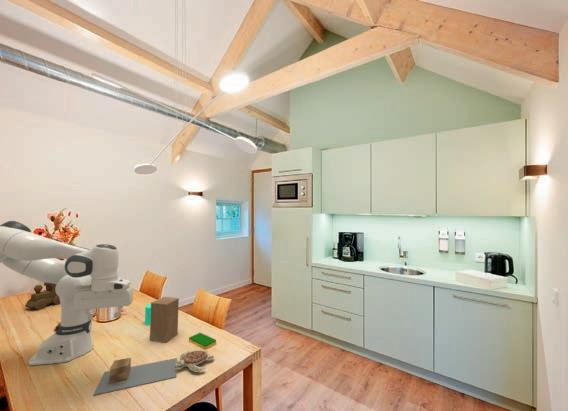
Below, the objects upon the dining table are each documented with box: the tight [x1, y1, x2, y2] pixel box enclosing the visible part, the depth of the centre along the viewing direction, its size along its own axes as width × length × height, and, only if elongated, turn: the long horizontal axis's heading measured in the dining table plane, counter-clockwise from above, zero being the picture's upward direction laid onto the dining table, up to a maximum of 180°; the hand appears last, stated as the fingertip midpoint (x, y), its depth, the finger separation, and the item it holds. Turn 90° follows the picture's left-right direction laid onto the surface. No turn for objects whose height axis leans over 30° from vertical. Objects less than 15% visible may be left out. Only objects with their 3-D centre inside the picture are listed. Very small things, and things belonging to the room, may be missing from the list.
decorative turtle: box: [175, 350, 215, 373], centre depth 109 cm, size 18×17×5 cm
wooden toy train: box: [24, 282, 61, 311], centre depth 175 cm, size 20×11×17 cm, turn 161°
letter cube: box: [109, 357, 132, 385], centre depth 99 cm, size 6×6×6 cm
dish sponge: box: [188, 332, 217, 351], centre depth 128 cm, size 7×14×2 cm, turn 55°
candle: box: [144, 304, 151, 326], centre depth 150 cm, size 6×6×12 cm
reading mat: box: [93, 357, 178, 397], centre depth 101 cm, size 28×14×1 cm, turn 113°
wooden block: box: [149, 296, 180, 344], centre depth 133 cm, size 10×10×20 cm
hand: (103, 318), depth 100 cm, fingers open, 8 cm apart
